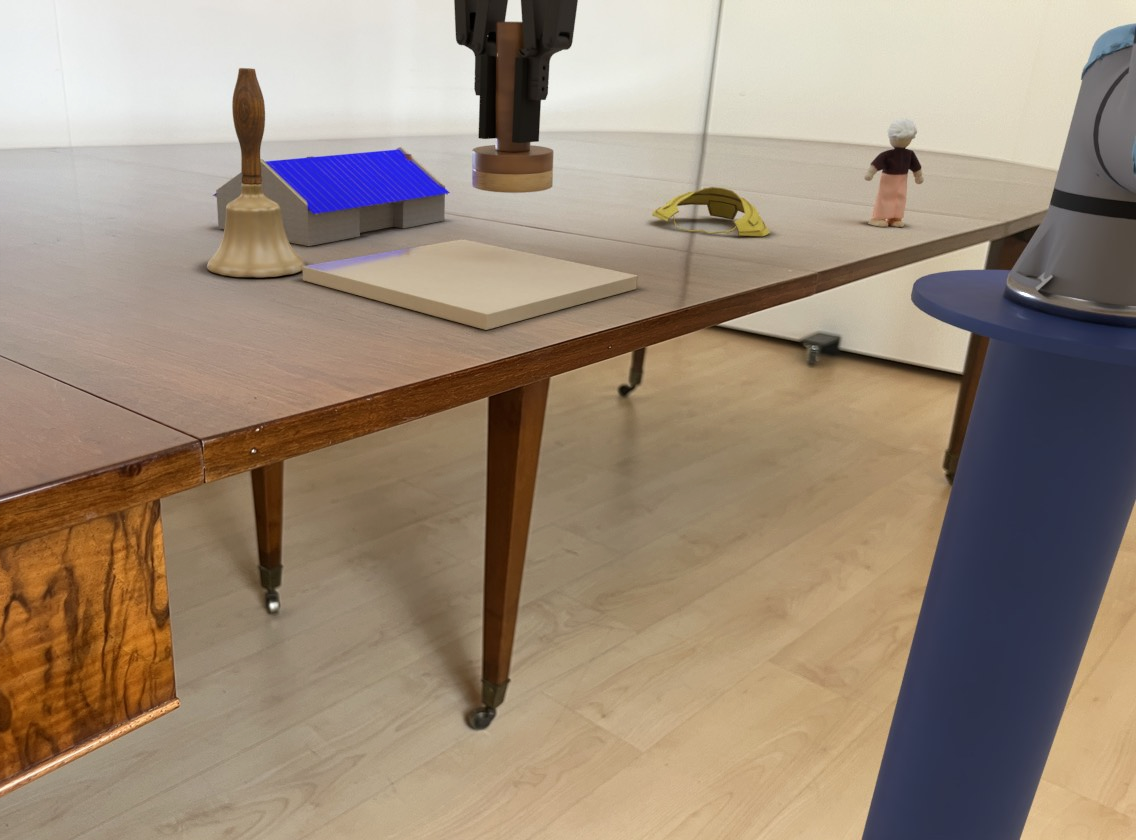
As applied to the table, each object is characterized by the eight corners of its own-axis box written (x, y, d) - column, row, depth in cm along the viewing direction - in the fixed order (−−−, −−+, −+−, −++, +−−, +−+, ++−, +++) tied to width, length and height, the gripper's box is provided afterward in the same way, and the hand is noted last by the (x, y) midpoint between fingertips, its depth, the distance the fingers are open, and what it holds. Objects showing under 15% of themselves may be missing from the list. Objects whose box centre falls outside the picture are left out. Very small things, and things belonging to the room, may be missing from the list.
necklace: (789, 235, 114) (795, 198, 112) (698, 239, 109) (703, 200, 107) (723, 217, 124) (728, 182, 123) (637, 219, 120) (641, 183, 118)
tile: (636, 289, 85) (637, 275, 85) (486, 330, 71) (486, 314, 71) (462, 251, 97) (462, 239, 96) (302, 280, 82) (302, 266, 82)
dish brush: (567, 184, 88) (573, 22, 82) (523, 195, 82) (527, 23, 77) (501, 176, 91) (503, 20, 85) (456, 187, 86) (454, 21, 80)
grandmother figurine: (896, 221, 128) (918, 117, 123) (917, 227, 124) (940, 119, 119) (847, 222, 125) (867, 115, 120) (868, 228, 122) (889, 118, 117)
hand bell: (196, 261, 87) (181, 64, 81) (287, 255, 91) (280, 67, 85) (221, 281, 81) (207, 69, 74) (319, 275, 85) (314, 72, 78)
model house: (355, 205, 119) (354, 141, 116) (449, 221, 112) (451, 153, 109) (213, 227, 102) (208, 152, 99) (314, 247, 95) (312, 167, 92)
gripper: (410, -186, 77) (409, 133, 87) (579, -209, 68) (558, 151, 77) (474, -169, 82) (466, 130, 92) (638, -188, 73) (611, 146, 83)
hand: (508, 139), depth 85 cm, fingers closed on dish brush, 3 cm apart
